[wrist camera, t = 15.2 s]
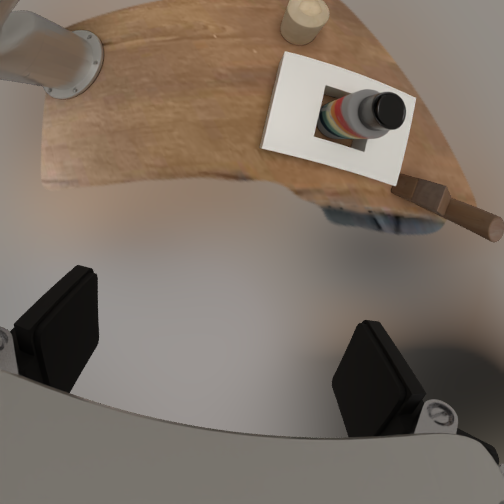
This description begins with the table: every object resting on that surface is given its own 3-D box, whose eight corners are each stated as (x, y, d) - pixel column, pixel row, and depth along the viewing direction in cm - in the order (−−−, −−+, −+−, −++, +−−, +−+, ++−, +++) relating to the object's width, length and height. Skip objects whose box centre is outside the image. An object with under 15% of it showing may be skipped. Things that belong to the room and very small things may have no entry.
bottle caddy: (259, 147, 44) (261, 148, 39) (279, 62, 40) (285, 51, 34) (379, 180, 47) (395, 186, 41) (397, 101, 42) (416, 98, 36)
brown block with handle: (397, 172, 46) (463, 191, 29) (442, 195, 48) (509, 222, 31) (389, 192, 47) (453, 220, 30) (435, 214, 49) (499, 246, 32)
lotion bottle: (325, 96, 42) (380, 70, 23) (356, 115, 43) (425, 105, 24) (308, 126, 44) (354, 117, 25) (340, 145, 45) (402, 151, 26)
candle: (289, 10, 37) (300, -17, 27) (320, 26, 38) (338, 2, 28) (273, 35, 38) (281, 11, 29) (306, 51, 39) (321, 31, 30)
